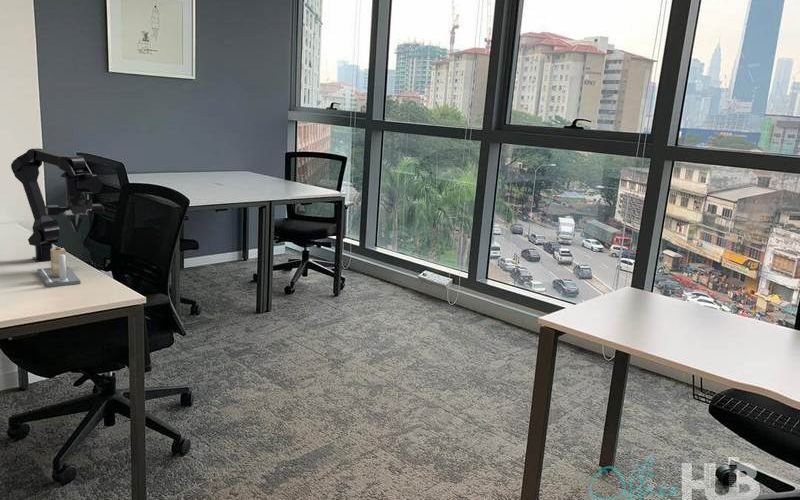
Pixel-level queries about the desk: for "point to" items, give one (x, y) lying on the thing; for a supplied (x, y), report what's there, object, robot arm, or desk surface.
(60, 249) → the pointer block
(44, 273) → the gauge board
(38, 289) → the desk surface
